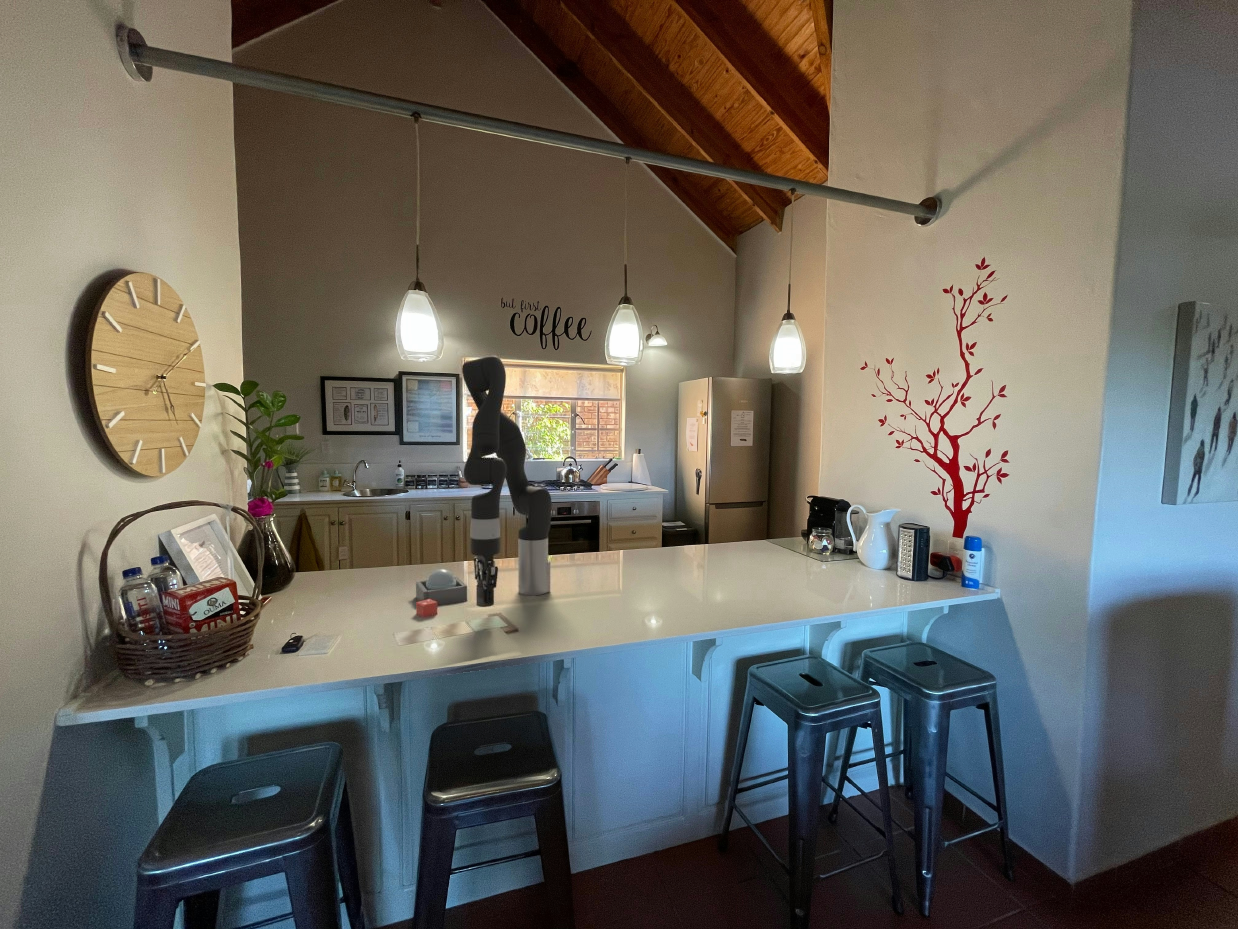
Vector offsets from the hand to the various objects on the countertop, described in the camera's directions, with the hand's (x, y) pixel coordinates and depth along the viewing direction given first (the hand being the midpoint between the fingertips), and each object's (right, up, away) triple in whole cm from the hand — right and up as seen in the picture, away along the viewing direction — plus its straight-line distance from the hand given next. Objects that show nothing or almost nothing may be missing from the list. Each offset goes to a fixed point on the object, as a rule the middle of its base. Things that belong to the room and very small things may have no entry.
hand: (485, 600), depth 141 cm
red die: (-18, -6, +7) cm, 20 cm away
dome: (-19, -4, +23) cm, 30 cm away
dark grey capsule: (0, -1, 0) cm, 1 cm away
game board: (-7, -7, -4) cm, 11 cm away
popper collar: (-19, -5, +23) cm, 30 cm away
